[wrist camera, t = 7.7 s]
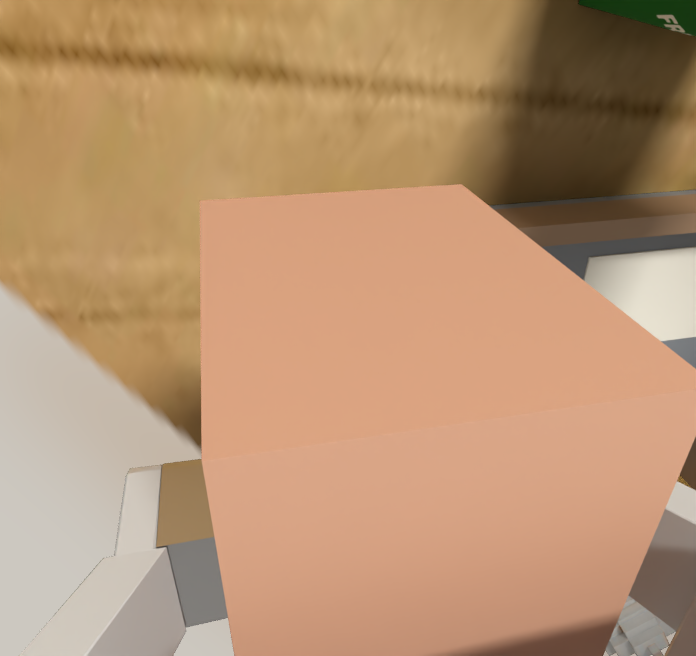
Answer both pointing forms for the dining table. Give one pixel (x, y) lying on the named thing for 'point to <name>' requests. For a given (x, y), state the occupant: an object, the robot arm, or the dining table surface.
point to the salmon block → (424, 430)
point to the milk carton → (652, 12)
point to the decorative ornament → (638, 632)
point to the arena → (628, 259)
